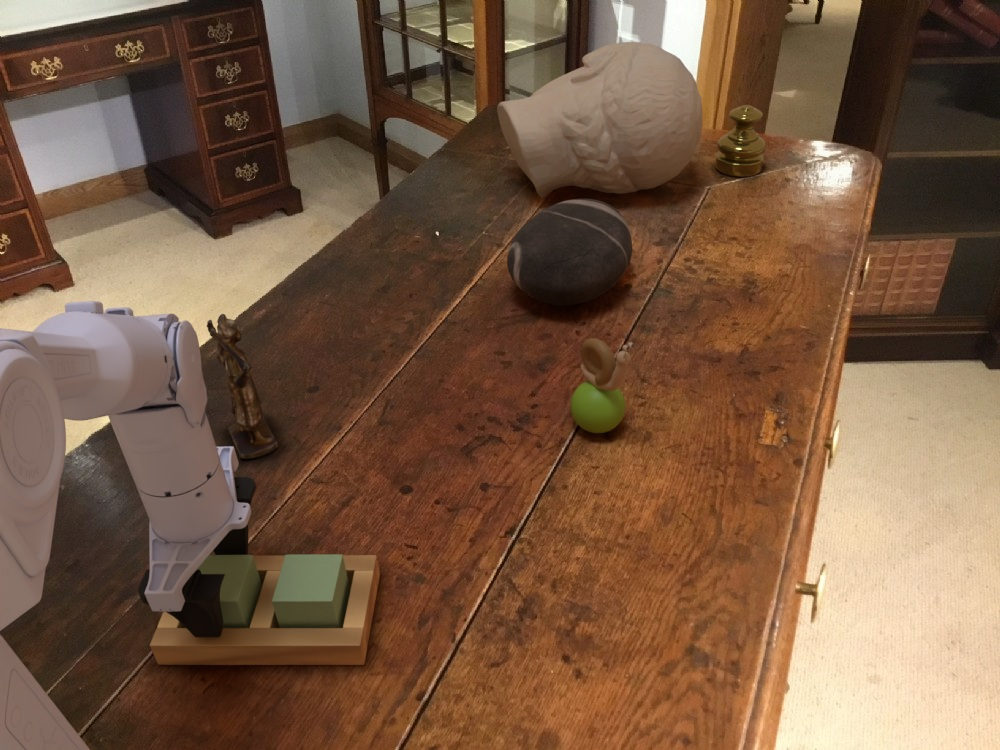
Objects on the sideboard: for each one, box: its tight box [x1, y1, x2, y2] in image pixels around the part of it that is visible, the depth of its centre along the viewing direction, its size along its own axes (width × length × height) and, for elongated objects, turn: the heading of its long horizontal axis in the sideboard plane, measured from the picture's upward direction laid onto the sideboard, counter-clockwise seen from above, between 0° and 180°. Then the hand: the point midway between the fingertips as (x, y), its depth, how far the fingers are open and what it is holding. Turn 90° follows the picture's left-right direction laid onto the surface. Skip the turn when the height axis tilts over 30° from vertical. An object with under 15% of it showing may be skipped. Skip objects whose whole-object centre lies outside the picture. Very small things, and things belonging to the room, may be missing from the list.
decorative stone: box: [506, 198, 633, 307], centre depth 106 cm, size 19×14×10 cm
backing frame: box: [149, 554, 381, 666], centre depth 68 cm, size 9×16×2 cm, turn 89°
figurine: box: [206, 313, 279, 460], centre depth 81 cm, size 7×4×15 cm, turn 28°
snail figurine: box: [570, 337, 634, 434], centre depth 82 cm, size 5×6×12 cm
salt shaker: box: [714, 104, 767, 178], centre depth 133 cm, size 7×7×10 cm
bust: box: [496, 41, 704, 199], centre depth 127 cm, size 21×24×30 cm
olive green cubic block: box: [197, 554, 262, 628], centre depth 67 cm, size 5×5×5 cm
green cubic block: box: [272, 553, 350, 628], centre depth 67 cm, size 5×5×5 cm
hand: (222, 594), depth 67 cm, fingers open, 7 cm apart
